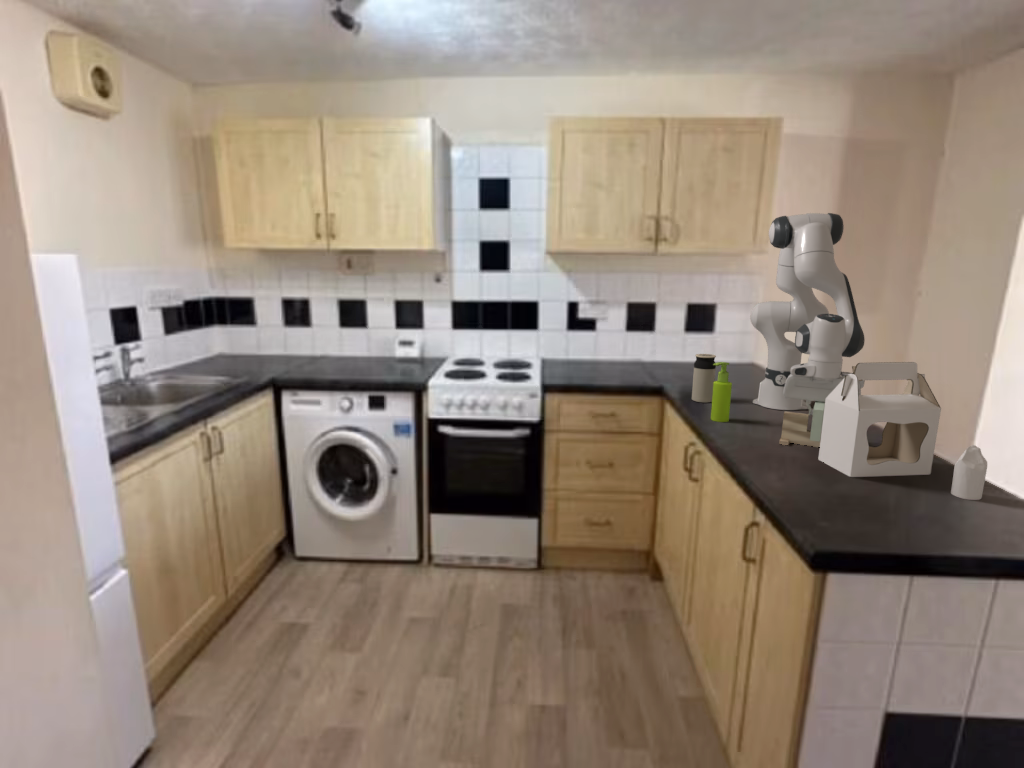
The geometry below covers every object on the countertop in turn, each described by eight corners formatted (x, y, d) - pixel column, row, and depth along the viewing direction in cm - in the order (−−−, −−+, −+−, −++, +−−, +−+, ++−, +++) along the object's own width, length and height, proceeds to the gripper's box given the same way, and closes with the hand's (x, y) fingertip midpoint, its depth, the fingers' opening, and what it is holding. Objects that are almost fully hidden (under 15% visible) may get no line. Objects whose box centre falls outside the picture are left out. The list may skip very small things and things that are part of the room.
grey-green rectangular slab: (812, 428, 171) (815, 399, 169) (821, 429, 170) (825, 400, 168) (809, 440, 159) (813, 409, 157) (819, 441, 158) (823, 410, 156)
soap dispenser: (704, 418, 195) (708, 361, 190) (720, 416, 197) (725, 360, 193) (716, 423, 189) (720, 364, 185) (732, 421, 192) (737, 363, 187)
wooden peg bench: (781, 437, 173) (784, 409, 172) (851, 447, 164) (855, 417, 162) (779, 444, 167) (782, 415, 165) (851, 455, 158) (855, 424, 156)
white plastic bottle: (971, 449, 125) (951, 442, 130) (962, 500, 127) (943, 490, 133) (998, 449, 125) (976, 441, 131) (988, 500, 128) (968, 490, 133)
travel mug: (714, 403, 216) (718, 357, 212) (692, 402, 217) (696, 356, 214) (711, 398, 223) (714, 353, 220) (690, 397, 225) (693, 353, 221)
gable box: (892, 457, 156) (907, 357, 150) (931, 474, 143) (949, 366, 137) (816, 459, 154) (828, 358, 148) (849, 477, 141) (864, 367, 135)
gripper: (865, 371, 162) (859, 418, 165) (787, 365, 173) (782, 409, 175) (865, 375, 157) (859, 423, 160) (785, 368, 167) (780, 413, 170)
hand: (818, 415), depth 168 cm, fingers closed on grey-green rectangular slab, 2 cm apart
